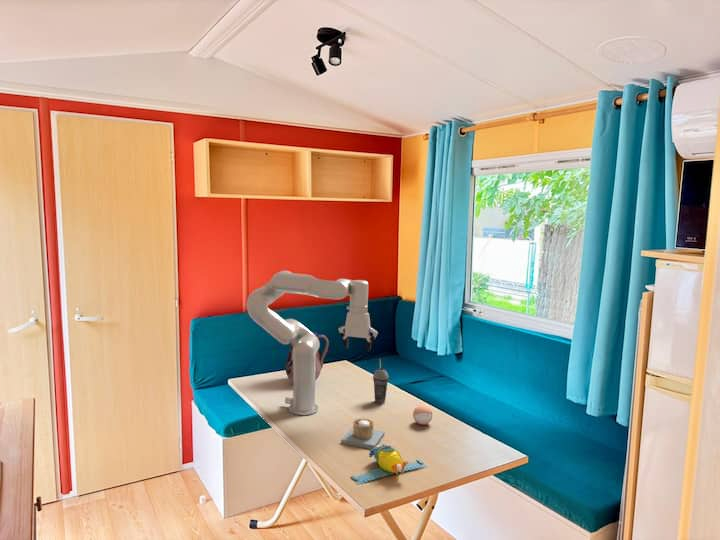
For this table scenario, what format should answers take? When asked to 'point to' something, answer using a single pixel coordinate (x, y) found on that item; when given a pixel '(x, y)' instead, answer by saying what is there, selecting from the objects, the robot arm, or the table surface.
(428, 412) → the toy ball
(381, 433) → the block
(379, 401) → the beverage cup
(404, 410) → the table surface
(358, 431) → the ring
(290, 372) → the ceramic pitcher
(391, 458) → the toy parrot figure
